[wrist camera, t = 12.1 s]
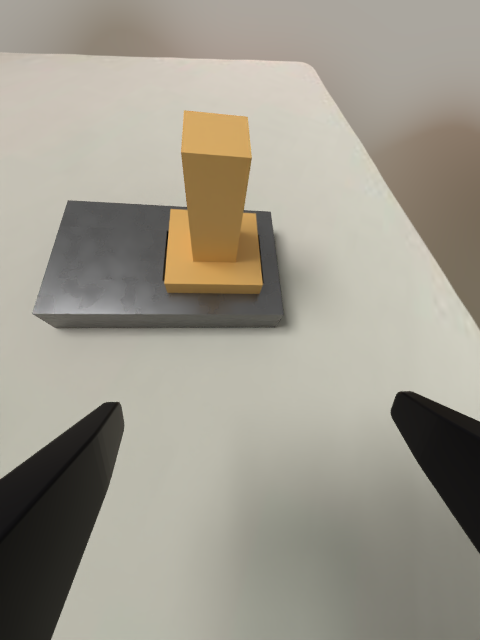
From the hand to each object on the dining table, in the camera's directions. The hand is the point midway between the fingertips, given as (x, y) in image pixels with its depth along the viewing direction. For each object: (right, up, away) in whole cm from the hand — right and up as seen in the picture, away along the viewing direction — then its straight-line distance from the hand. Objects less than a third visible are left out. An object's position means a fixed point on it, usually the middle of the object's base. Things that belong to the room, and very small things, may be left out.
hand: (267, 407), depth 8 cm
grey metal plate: (-8, +8, +17) cm, 20 cm away
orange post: (-4, +8, +17) cm, 19 cm away
